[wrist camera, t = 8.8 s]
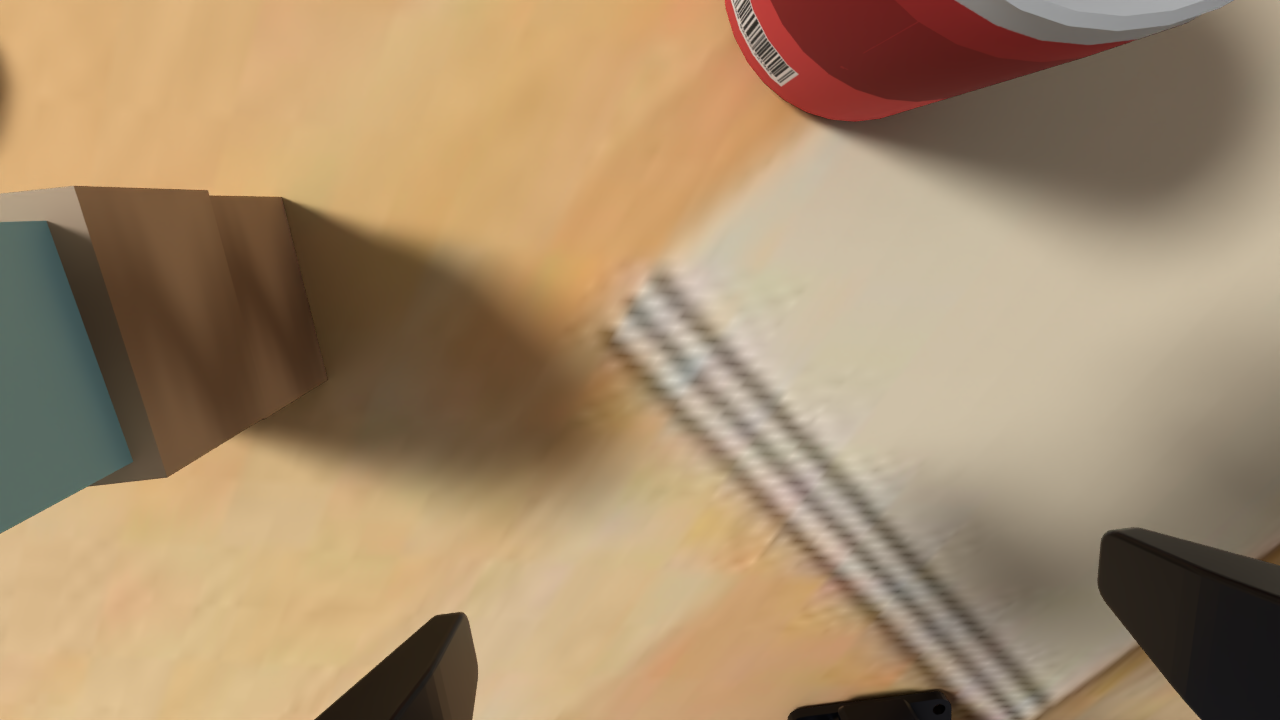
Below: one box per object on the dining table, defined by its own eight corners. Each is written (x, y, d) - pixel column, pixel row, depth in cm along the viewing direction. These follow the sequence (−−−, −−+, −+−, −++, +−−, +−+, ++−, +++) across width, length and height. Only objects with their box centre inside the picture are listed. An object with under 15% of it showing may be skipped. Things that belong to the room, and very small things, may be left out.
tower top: (268, 415, 17) (167, 477, 13) (48, 440, 17) (-120, 510, 13) (207, 190, 16) (73, 186, 12) (-34, 216, 15) (-251, 220, 12)
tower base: (328, 379, 21) (264, 419, 17) (150, 400, 21) (44, 446, 17) (282, 197, 19) (200, 195, 16) (90, 219, 19) (-40, 223, 15)
